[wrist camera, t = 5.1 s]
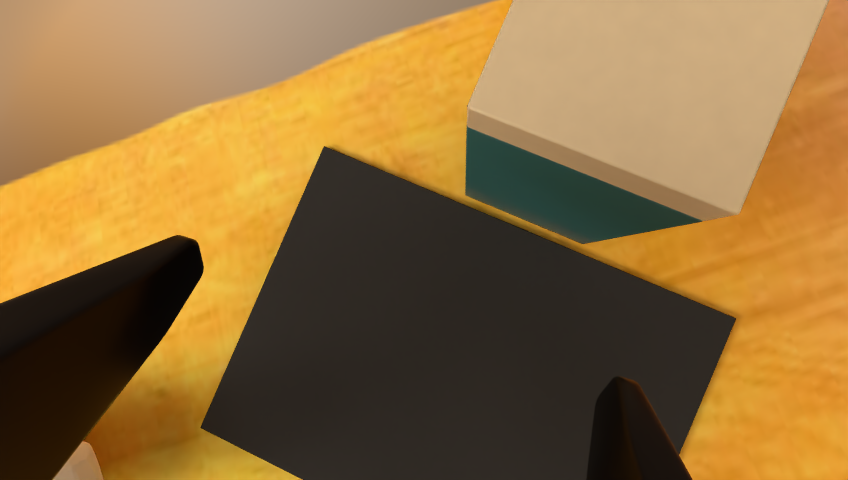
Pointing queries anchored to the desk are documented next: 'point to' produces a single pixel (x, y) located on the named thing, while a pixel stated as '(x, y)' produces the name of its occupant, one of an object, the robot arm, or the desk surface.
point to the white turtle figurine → (81, 465)
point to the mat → (445, 342)
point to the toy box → (631, 109)
